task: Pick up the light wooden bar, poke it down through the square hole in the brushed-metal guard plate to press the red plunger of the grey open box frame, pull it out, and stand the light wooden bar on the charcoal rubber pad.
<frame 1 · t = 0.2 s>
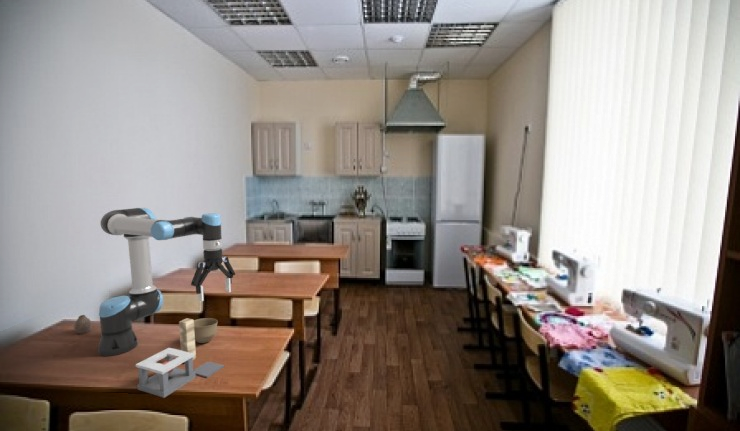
hand: (215, 296, 156), 27 cm above the table, fingers open, 13 cm apart
vase: (83, 332, 182), on the table
bowl: (204, 341, 172), on the table
light wooden bar: (188, 360, 154), on the table
grey open box frame: (167, 383, 137), on the table
pad: (207, 369, 147), on the table
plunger: (166, 370, 136), point 5 cm above the table, slide at 0.0 cm
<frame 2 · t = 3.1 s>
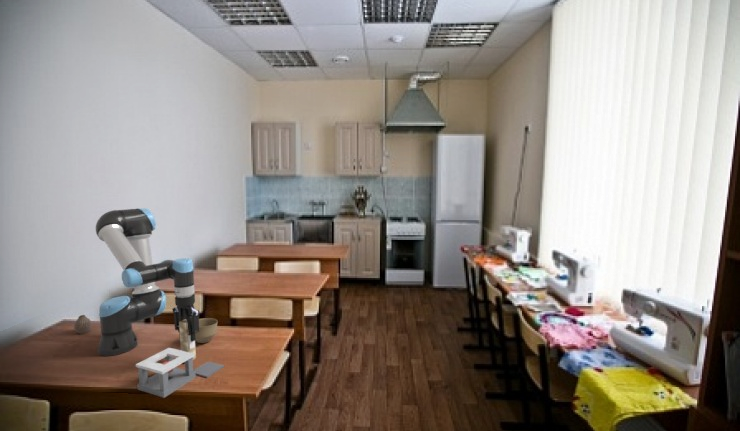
hand: (188, 346, 154), 6 cm above the table, fingers closed on light wooden bar, 4 cm apart
light wooden bar: (188, 360, 154), on the table, touching gripper
everything else where it was.
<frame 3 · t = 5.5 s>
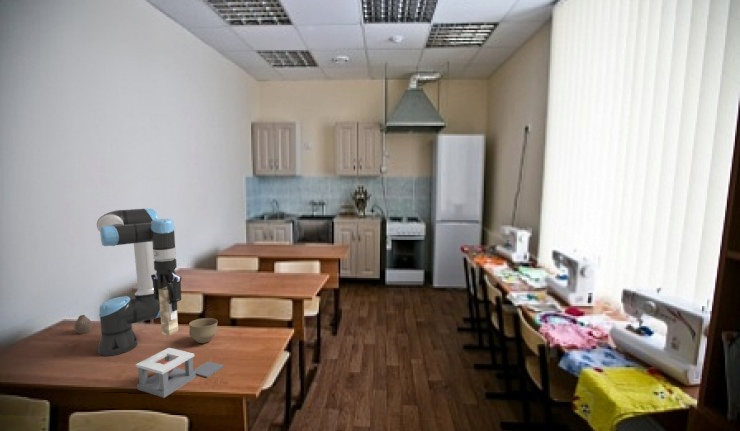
hand: (169, 317, 138), 25 cm above the table, fingers closed on light wooden bar, 4 cm apart
light wooden bar: (170, 332, 139), point 19 cm above the table, touching gripper
everything else where it was.
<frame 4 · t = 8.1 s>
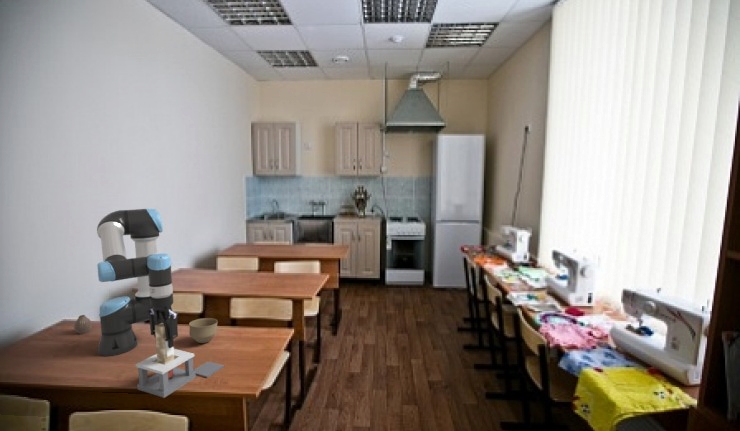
hand: (165, 353, 136), 12 cm above the table, fingers closed on light wooden bar, 4 cm apart
light wooden bar: (166, 369, 136), point 6 cm above the table, touching gripper, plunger
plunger: (167, 375, 137), point 3 cm above the table, slide at 2.1 cm, touching light wooden bar
everything else where it was.
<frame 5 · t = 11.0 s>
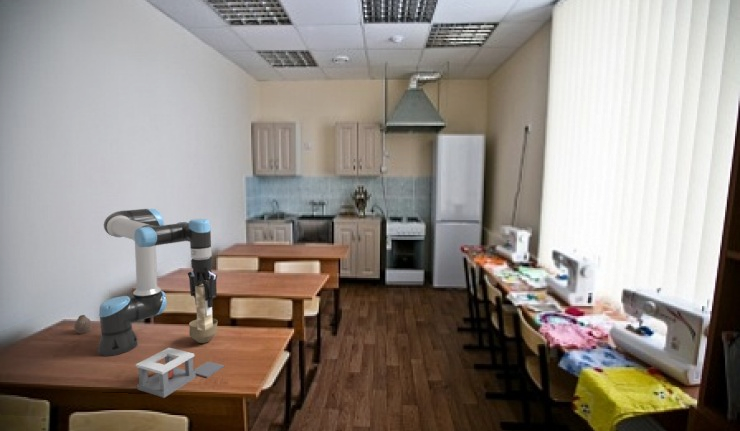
hand: (204, 313, 144), 24 cm above the table, fingers closed on light wooden bar, 4 cm apart
light wooden bar: (205, 328, 144), point 18 cm above the table, touching gripper
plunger: (167, 375, 137), point 3 cm above the table, slide at 2.1 cm
everything else where it was.
when the fingers open (8 cm above the table, at t = 13.7 s): light wooden bar stays where it is, resting on pad.
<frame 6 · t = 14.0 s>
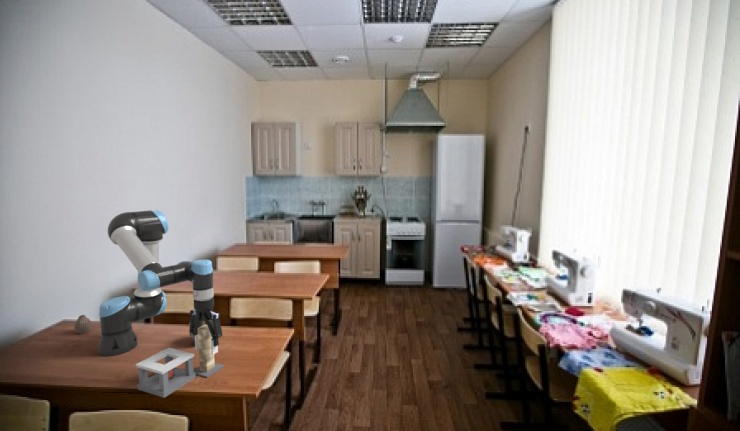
hand: (206, 351, 146), 8 cm above the table, fingers open, 8 cm apart
light wooden bar: (207, 368, 146), point 1 cm above the table, touching pad
everything else where it was.
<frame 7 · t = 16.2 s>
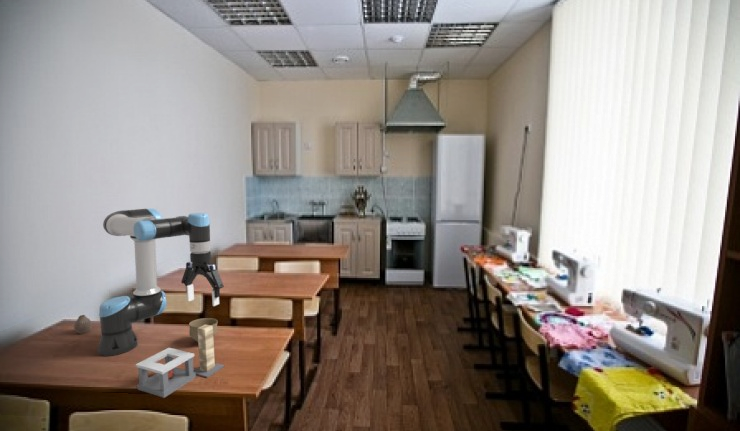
hand: (203, 302, 144), 29 cm above the table, fingers open, 13 cm apart
nothing on the table moved.
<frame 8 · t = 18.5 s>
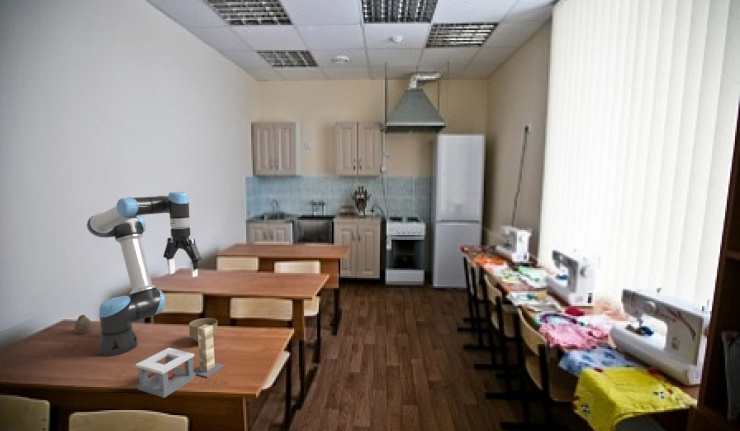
hand: (183, 275, 156), 37 cm above the table, fingers open, 13 cm apart
nothing on the table moved.
at the end: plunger slide at 2.1 cm; light wooden bar inside the target area on the pad (0.1 cm from its centre), point 0.6 cm above the pad's base; the gripper is holding nothing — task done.
